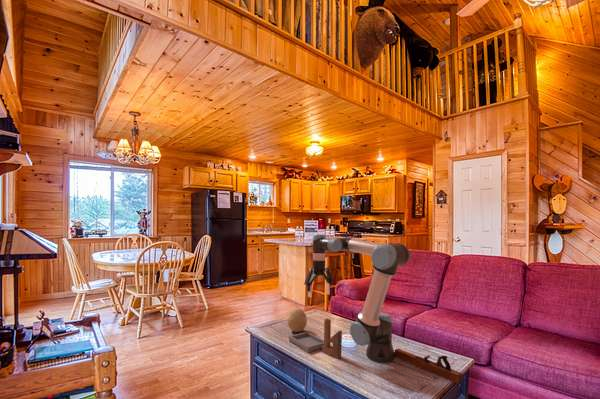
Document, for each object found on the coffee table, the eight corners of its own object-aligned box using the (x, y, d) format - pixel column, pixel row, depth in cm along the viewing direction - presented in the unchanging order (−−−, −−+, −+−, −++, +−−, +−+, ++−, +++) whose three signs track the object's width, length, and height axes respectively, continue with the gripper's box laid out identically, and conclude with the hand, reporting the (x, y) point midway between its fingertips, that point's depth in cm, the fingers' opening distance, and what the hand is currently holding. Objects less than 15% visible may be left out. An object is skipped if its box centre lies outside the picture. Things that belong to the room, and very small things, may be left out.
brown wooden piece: (337, 359, 165) (338, 324, 166) (322, 352, 173) (322, 319, 174) (341, 356, 168) (342, 322, 169) (326, 350, 175) (326, 318, 176)
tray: (327, 347, 179) (327, 342, 180) (307, 353, 171) (307, 347, 172) (307, 336, 195) (307, 331, 195) (288, 341, 187) (289, 336, 187)
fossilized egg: (283, 330, 203) (283, 307, 204) (297, 326, 212) (298, 304, 213) (296, 336, 194) (296, 312, 195) (310, 332, 203) (311, 308, 203)
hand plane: (463, 381, 146) (463, 359, 147) (459, 384, 143) (459, 362, 143) (398, 355, 172) (398, 337, 172) (392, 358, 168) (393, 339, 169)
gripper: (330, 258, 200) (330, 291, 198) (298, 260, 186) (298, 296, 184) (338, 259, 194) (338, 294, 192) (305, 261, 180) (305, 299, 178)
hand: (319, 295), depth 188 cm, fingers open, 13 cm apart
